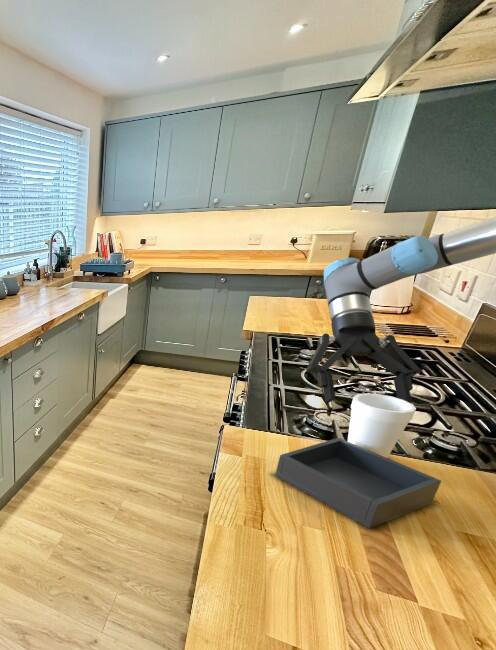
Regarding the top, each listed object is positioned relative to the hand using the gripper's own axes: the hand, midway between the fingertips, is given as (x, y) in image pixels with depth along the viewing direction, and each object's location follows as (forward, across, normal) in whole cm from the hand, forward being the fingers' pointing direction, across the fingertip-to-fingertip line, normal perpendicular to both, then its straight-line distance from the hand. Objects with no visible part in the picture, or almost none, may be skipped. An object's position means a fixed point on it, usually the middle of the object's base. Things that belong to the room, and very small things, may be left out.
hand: (367, 402), depth 91 cm
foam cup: (+11, 0, -4) cm, 12 cm away
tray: (+20, +9, +5) cm, 23 cm away
